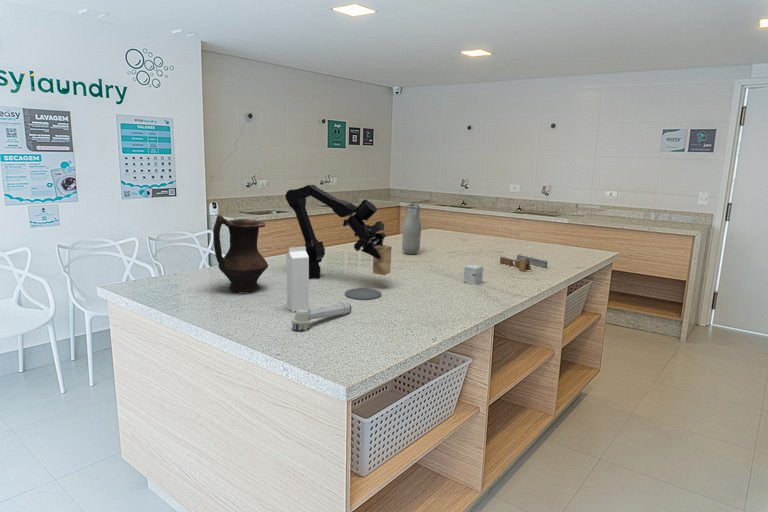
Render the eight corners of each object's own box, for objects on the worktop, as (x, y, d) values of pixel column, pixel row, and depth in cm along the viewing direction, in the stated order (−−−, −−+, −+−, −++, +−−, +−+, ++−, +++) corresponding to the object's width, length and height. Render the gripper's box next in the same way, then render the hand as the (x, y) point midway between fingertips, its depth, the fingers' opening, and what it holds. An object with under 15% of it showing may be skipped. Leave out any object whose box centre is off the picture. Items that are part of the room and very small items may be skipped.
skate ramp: (561, 270, 255) (562, 256, 253) (512, 278, 236) (513, 262, 234) (516, 259, 279) (517, 246, 277) (468, 265, 259) (469, 251, 258)
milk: (308, 310, 177) (309, 248, 173) (292, 312, 174) (292, 249, 170) (302, 305, 182) (302, 244, 178) (286, 307, 179) (286, 245, 175)
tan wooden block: (372, 273, 207) (373, 246, 205) (378, 271, 212) (379, 244, 210) (384, 275, 205) (385, 248, 203) (390, 272, 210) (391, 246, 208)
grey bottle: (400, 255, 278) (402, 203, 273) (403, 251, 288) (405, 202, 282) (418, 256, 277) (421, 204, 271) (420, 252, 286) (423, 202, 281)
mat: (349, 300, 190) (349, 298, 190) (341, 291, 203) (341, 289, 203) (385, 298, 194) (385, 296, 194) (375, 289, 207) (375, 287, 207)
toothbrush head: (353, 303, 174) (301, 310, 154) (351, 322, 175) (299, 331, 155) (342, 300, 177) (289, 306, 157) (340, 319, 178) (287, 327, 158)
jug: (253, 281, 214) (251, 209, 208) (277, 290, 201) (276, 214, 195) (204, 289, 199) (201, 212, 193) (227, 299, 186) (225, 218, 180)
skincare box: (463, 282, 223) (464, 266, 221) (470, 280, 227) (471, 264, 226) (474, 285, 219) (476, 268, 217) (482, 283, 223) (483, 266, 222)
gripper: (361, 217, 198) (386, 248, 195) (382, 212, 214) (405, 241, 212) (343, 235, 203) (367, 266, 200) (365, 229, 219) (387, 258, 217)
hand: (383, 257), depth 207 cm, fingers closed on tan wooden block, 5 cm apart
